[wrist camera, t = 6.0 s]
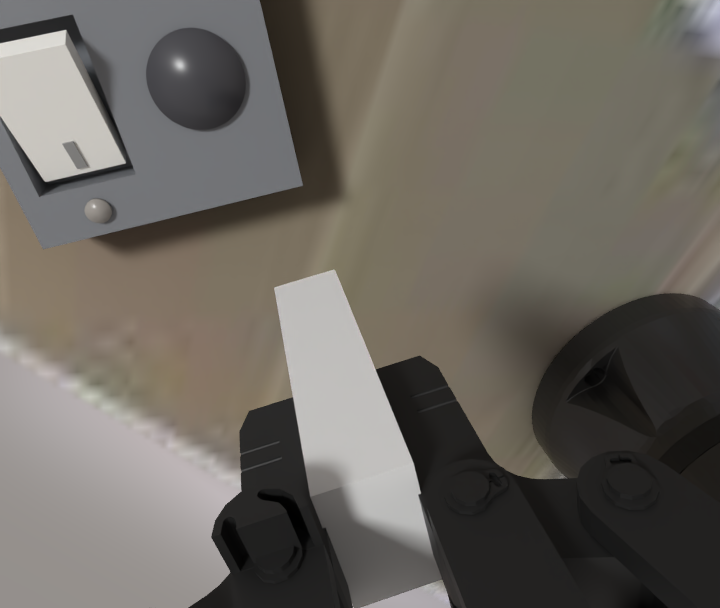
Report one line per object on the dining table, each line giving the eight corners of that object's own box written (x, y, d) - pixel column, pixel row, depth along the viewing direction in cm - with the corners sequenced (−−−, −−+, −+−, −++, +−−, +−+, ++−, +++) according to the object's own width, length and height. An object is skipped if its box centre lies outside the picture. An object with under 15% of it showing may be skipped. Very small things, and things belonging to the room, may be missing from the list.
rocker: (125, 148, 23) (126, 164, 23) (46, 166, 23) (44, 183, 22) (66, 29, 19) (65, 45, 19) (-31, 49, 19) (-35, 66, 18)
